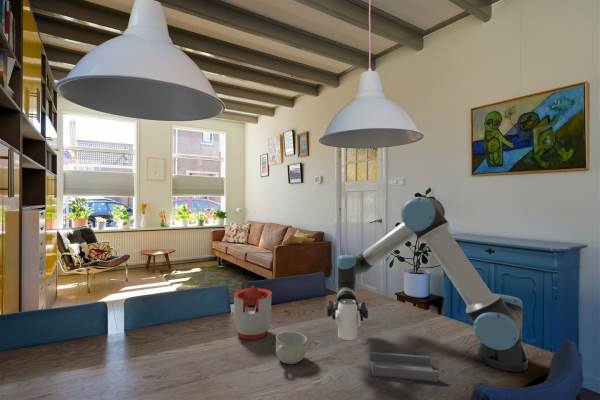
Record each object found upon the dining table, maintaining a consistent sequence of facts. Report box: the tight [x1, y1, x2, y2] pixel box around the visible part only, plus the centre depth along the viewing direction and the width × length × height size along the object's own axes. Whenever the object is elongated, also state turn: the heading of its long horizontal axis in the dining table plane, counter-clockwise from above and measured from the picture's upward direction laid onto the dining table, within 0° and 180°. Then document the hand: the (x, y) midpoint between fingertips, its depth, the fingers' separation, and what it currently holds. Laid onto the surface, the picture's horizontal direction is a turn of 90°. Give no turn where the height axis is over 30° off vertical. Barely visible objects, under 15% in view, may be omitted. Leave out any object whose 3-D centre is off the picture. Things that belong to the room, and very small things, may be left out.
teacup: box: [275, 331, 308, 365], centre depth 113 cm, size 14×11×8 cm
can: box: [337, 299, 358, 342], centre depth 110 cm, size 6×6×12 cm
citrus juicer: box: [233, 285, 273, 340], centre depth 134 cm, size 16×17×20 cm
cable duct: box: [369, 351, 440, 383], centre depth 108 cm, size 20×10×3 cm, turn 83°
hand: (347, 321), depth 105 cm, fingers closed on can, 6 cm apart
